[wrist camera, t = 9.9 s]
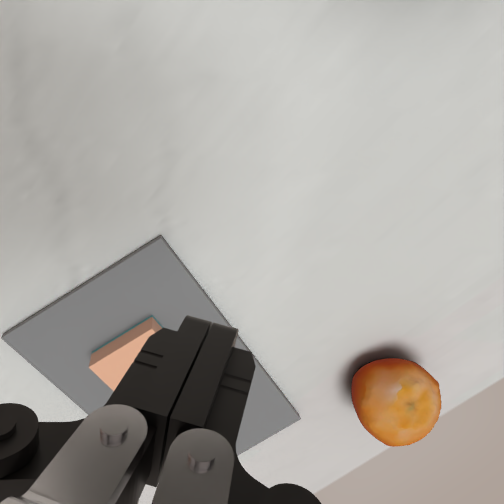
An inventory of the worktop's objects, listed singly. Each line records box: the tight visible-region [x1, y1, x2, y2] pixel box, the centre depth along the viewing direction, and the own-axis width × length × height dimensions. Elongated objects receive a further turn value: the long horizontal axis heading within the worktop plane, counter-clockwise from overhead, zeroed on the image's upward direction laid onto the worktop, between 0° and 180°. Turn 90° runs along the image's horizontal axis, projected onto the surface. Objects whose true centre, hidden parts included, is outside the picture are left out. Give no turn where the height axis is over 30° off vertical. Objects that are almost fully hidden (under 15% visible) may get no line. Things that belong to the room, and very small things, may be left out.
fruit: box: [351, 358, 441, 446], centre depth 43 cm, size 8×8×8 cm
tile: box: [89, 315, 163, 391], centre depth 39 cm, size 6×2×12 cm
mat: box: [2, 235, 301, 456], centre depth 40 cm, size 15×24×1 cm, turn 31°
